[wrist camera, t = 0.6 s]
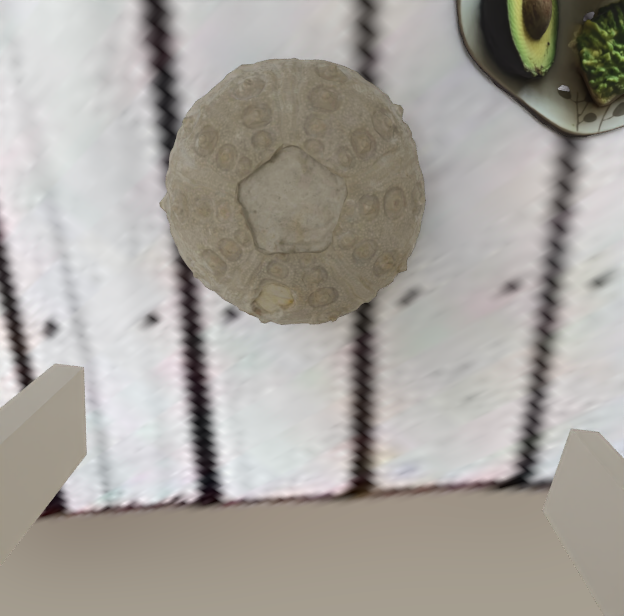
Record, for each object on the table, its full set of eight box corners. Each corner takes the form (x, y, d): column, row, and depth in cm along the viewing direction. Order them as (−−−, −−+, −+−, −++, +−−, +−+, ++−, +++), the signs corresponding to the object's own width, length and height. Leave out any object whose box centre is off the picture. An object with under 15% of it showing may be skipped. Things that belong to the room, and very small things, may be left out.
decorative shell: (416, 294, 40) (444, 340, 31) (205, 312, 41) (168, 361, 32) (408, 56, 35) (440, 21, 25) (165, 83, 36) (107, 59, 26)
